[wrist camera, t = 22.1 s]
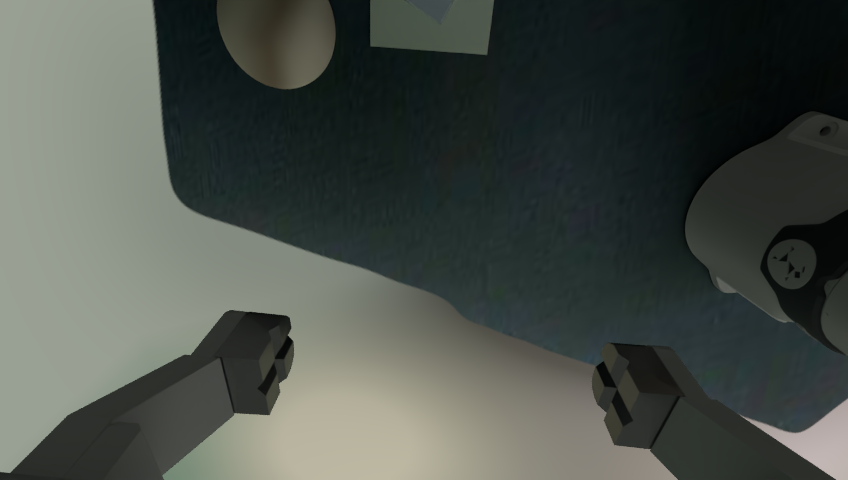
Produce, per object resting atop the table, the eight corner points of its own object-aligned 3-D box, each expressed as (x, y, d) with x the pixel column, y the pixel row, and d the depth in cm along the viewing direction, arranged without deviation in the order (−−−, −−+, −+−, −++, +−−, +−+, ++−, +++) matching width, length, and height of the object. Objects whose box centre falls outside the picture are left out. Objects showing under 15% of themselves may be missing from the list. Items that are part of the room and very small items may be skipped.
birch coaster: (332, -42, 30) (331, -43, 30) (338, 92, 35) (337, 93, 35) (207, -51, 30) (205, -52, 30) (229, 84, 35) (228, 84, 35)
